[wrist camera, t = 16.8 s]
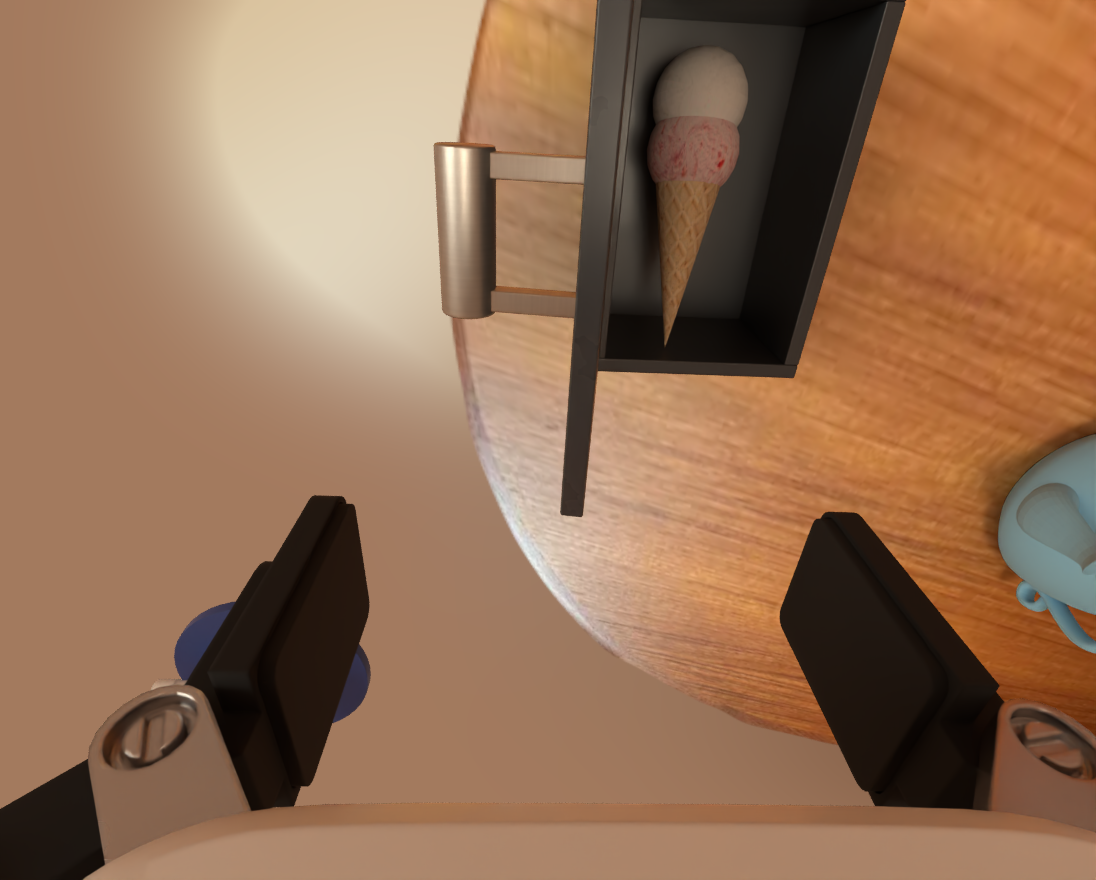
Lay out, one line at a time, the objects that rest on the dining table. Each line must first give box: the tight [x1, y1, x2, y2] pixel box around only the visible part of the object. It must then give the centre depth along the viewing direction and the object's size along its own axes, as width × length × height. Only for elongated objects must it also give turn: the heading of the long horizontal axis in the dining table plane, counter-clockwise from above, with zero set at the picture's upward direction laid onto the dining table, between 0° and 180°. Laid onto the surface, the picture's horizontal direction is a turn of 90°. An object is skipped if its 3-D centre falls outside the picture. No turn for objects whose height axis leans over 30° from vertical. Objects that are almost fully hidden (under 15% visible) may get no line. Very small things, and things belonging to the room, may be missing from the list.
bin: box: [598, 0, 906, 378], centre depth 30 cm, size 12×18×9 cm, turn 177°
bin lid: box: [434, 0, 635, 517], centre depth 21 cm, size 13×18×5 cm
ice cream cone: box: [647, 45, 748, 346], centre depth 30 cm, size 5×5×15 cm
